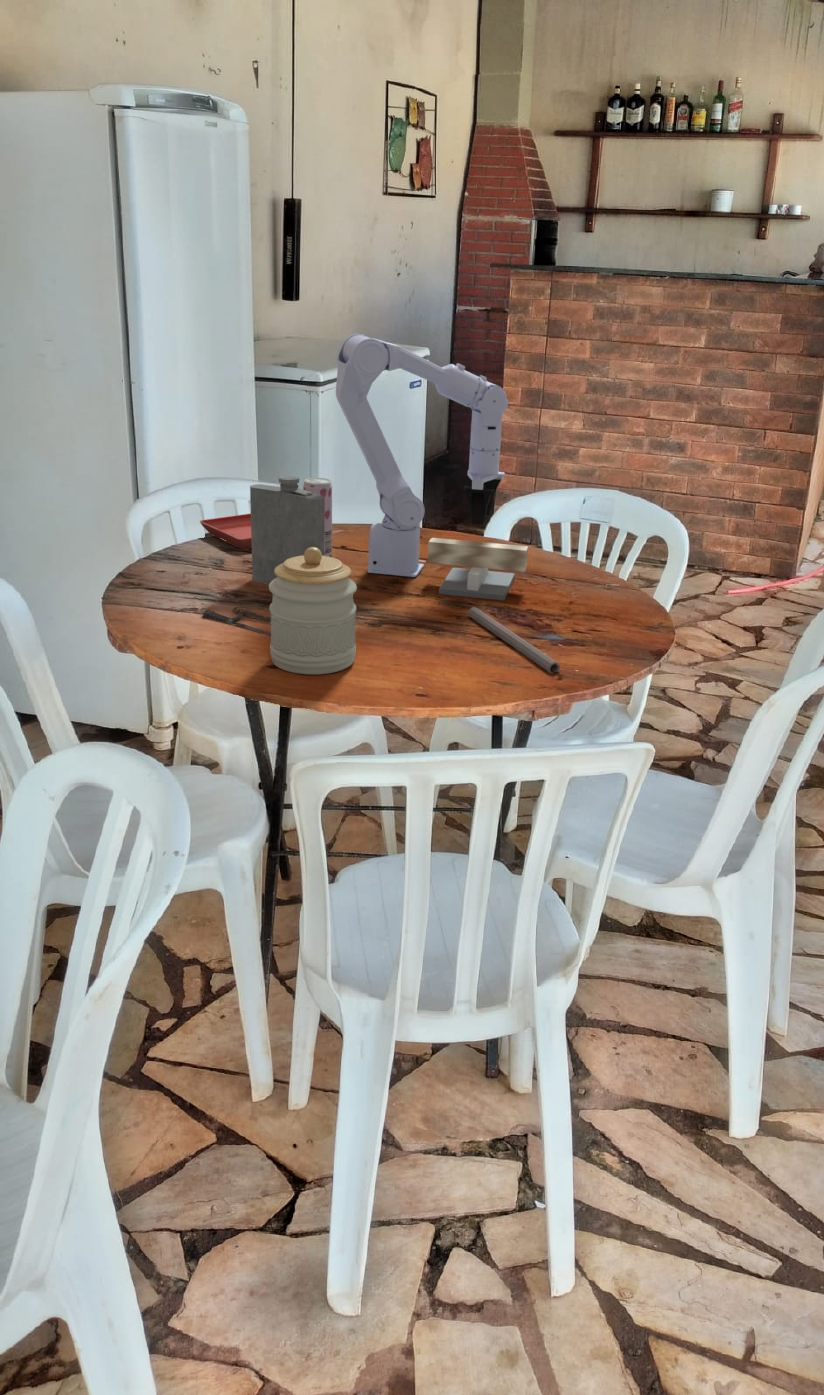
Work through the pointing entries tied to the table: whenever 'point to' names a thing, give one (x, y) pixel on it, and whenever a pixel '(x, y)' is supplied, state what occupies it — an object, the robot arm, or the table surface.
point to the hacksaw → (241, 614)
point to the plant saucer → (231, 529)
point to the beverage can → (325, 489)
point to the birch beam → (477, 554)
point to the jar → (312, 615)
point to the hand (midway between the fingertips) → (480, 519)
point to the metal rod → (514, 640)
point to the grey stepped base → (477, 583)
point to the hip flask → (283, 525)
